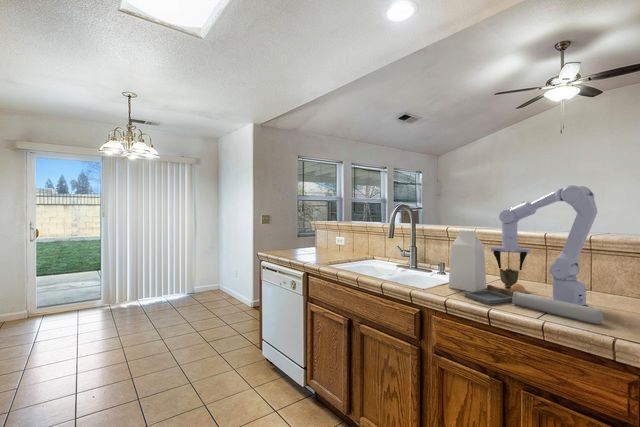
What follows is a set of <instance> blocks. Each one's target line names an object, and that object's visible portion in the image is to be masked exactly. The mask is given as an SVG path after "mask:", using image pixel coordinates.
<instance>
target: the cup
mask: <svg viewBox="0 0 640 427" xmlns="http://www.w3.org/2000/svg"><path fill="white" fill-rule="evenodd" d="M519 272H520V270H517V269H512V268H509V269H508V268H506V269H505V270H504V268H501V269H500V268H499V275H500V276H499V277H500V281H501V283H502V284H504V287H505V289H511V286H512V285H514V284H518V283H517V282H518V279H519Z"/></svg>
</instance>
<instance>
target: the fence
mask: <svg viewBox="0 0 640 427" xmlns="http://www.w3.org/2000/svg"><path fill="white" fill-rule="evenodd" d="M486 290H490V291H493V292H497V293H500V294H504V295H507V296H510V297H512V296H513V294H514V292H513V291H511V289H510V290H509V289H507V288H502V287H498V286H494V285H491V284H486Z"/></svg>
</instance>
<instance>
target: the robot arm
mask: <svg viewBox="0 0 640 427" xmlns="http://www.w3.org/2000/svg"><path fill="white" fill-rule="evenodd" d="M557 202H565V203H566V204H568V205H569V206H571V207H572V208H573V209H574V211H575V212H576V216H575V217H574V220H573V223H572V225H571V229H570V231H569V233H568V235H567V238H566V241H565V243H564V246H563V249H562V251H561V253H560V254H558V256H557V257H556V259H555V261H553V263H551V264H550V266H549V272H550V275H551V277H552V298H551V297H550V298H549V297H548V299H553V300H557V301H562V302H567V303H572V304H576V305H581V306H588V303H587V288H586V284H584V283H583V282H581V281H578V279H577V276H578V274H580V265H579V264H580V263H581V262H580V261H581V259H580V256H581V253H582V250H583V248H584V245H585V243H586V241H587V238H588V236H589V233H590V231H591V229H592V227H593V224H594V222H595V219H596V217H597V214H598V208H597V204H596V199H595V193H594V192H593V191H592V190H591V189H590V188H588V187H587V186H582V185H581V186H580V185H567V186H565V187H563V188H562V187H561V188H559V189H557V190H554V191H552V192H550V193H548V194H547V195H544V196H542V197H540V198H538V199H536V200H534V201H529V200H527V201H525V200H524V201H521V202H520V204H518V205H515V206H511V207H510V208H509V209H503V210H502V211H501V212H500V213H499V214H498V217H499V218H498V219H499V221H500V222H501V237H502V238H501V244H502V245H501V246H490V252H492V253H493V255H494V257H495V260H496V262H497V266H498V269H499V270H500V269H502V263H501V257H502V256H501V253H517V254H518V253H519V271H522V269H523V265H524V262H525V260H526V257H527V255H528V254H531V248H526V247H518V223H519V221H520V220H522V219H525V218H528V217H529V216H530V217H531V216H533V215H535V214H536V213H537V210H538V209H541V208H543V207H547V206H550V205H551V204H554V203H557Z"/></svg>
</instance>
